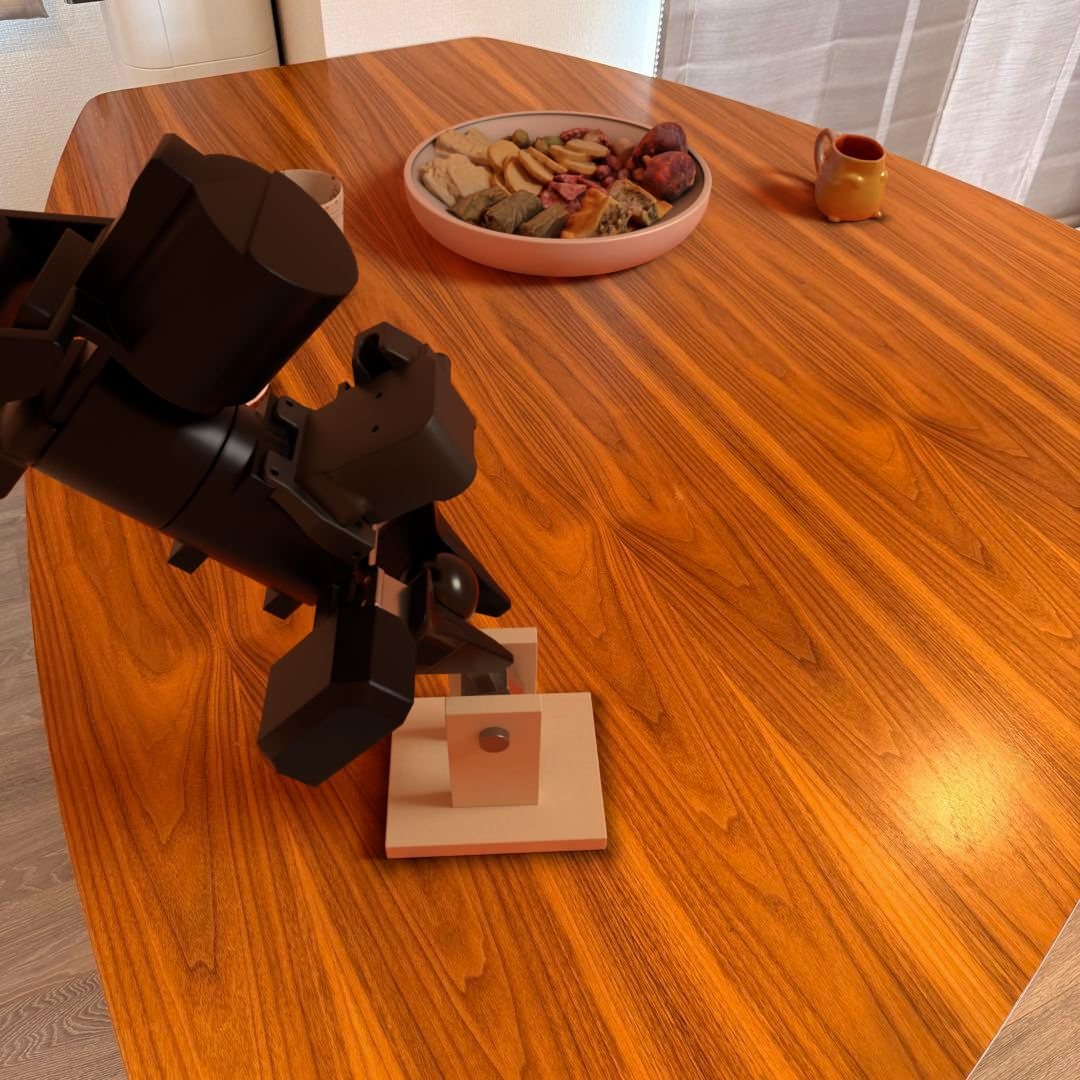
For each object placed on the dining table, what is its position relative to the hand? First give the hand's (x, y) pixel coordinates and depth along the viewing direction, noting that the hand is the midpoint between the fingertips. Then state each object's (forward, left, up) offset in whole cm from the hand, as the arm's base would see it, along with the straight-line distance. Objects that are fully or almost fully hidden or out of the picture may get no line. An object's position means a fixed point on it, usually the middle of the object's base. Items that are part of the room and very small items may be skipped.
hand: (506, 637), depth 44 cm
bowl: (+37, +54, -12) cm, 66 cm away
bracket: (-1, 0, -12) cm, 12 cm away
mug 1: (+8, +53, -12) cm, 54 cm away
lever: (-3, +2, -1) cm, 4 cm away
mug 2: (+65, +43, -12) cm, 79 cm away
